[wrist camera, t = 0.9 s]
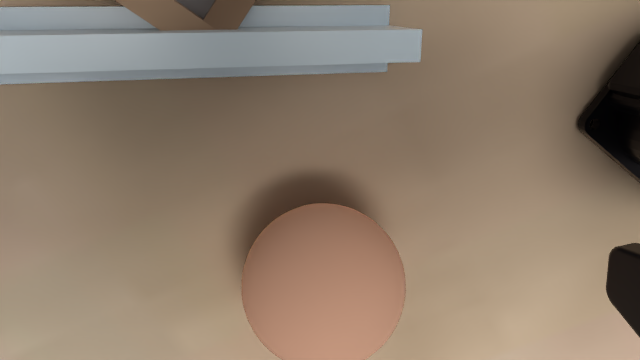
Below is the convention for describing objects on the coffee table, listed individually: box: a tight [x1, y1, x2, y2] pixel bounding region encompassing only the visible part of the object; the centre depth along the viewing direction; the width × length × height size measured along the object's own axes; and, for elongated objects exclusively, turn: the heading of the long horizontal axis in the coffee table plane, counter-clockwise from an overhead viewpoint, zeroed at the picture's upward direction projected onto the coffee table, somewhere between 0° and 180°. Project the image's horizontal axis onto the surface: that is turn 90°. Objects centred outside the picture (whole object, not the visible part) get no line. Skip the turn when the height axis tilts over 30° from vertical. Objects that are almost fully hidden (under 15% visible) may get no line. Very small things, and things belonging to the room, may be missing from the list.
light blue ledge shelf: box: [0, 5, 422, 84], centre depth 16 cm, size 16×2×4 cm, turn 90°
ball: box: [242, 203, 406, 360], centre depth 19 cm, size 6×6×6 cm
